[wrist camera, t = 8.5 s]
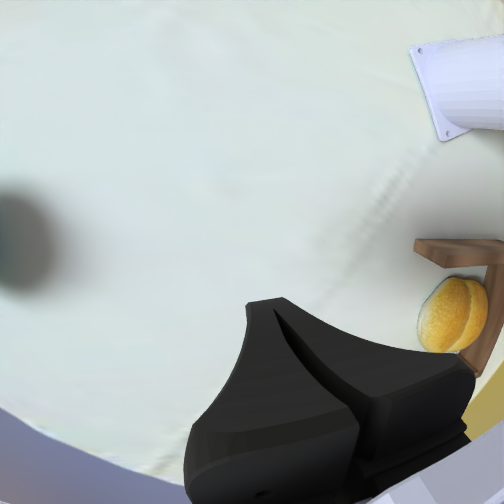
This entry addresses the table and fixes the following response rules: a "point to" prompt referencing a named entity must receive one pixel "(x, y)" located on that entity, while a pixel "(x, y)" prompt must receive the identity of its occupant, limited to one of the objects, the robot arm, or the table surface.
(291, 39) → the table surface
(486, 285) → the box
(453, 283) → the bread roll
